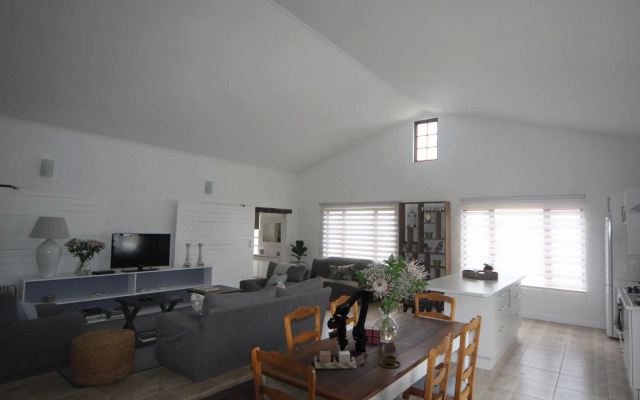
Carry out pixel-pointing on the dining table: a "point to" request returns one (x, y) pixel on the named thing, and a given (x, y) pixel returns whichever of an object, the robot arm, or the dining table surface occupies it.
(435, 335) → the dining table surface
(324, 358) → the terracotta block
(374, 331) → the puzzle cube
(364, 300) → the robot arm
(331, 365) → the shelf
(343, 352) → the tethered block
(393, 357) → the place setting
